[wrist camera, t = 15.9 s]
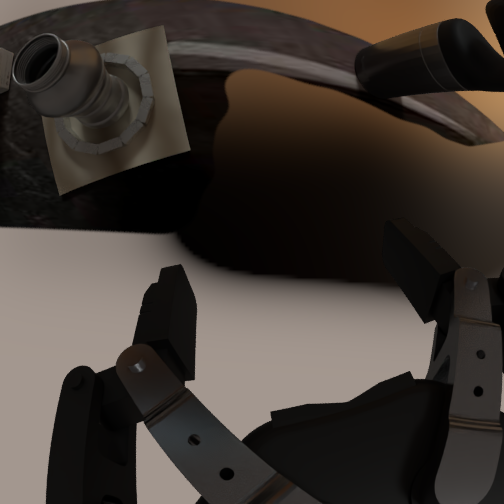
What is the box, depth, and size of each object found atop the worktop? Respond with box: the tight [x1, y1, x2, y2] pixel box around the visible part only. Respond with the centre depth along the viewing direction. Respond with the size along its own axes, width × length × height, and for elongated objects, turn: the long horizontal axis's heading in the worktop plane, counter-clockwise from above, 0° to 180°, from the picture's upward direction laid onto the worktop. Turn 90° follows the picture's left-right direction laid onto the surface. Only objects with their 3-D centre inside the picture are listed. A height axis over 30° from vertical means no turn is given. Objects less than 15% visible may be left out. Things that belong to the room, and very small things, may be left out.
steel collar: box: [54, 53, 155, 155], centre depth 27 cm, size 12×12×2 cm
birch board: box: [42, 25, 190, 195], centre depth 28 cm, size 18×18×1 cm
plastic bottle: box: [12, 33, 129, 129], centre depth 19 cm, size 6×7×20 cm
